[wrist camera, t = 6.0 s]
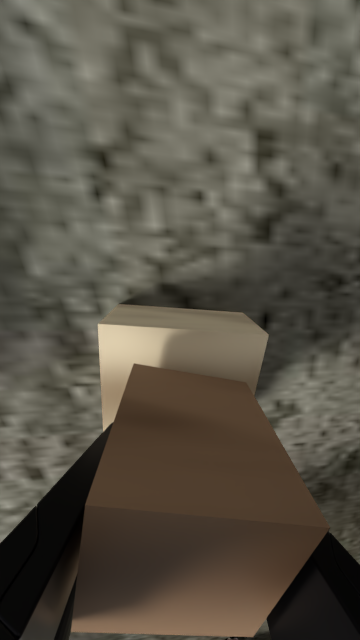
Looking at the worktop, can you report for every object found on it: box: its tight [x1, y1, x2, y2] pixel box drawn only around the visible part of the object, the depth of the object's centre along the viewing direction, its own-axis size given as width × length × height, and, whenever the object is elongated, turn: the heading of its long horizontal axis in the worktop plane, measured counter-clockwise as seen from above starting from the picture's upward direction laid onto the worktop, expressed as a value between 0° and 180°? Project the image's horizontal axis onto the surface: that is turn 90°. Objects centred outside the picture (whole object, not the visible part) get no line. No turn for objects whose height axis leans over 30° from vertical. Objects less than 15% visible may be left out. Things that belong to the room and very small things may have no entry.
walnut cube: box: [71, 363, 330, 637], centre depth 7 cm, size 5×5×5 cm
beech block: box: [98, 304, 269, 432], centre depth 13 cm, size 8×8×4 cm
